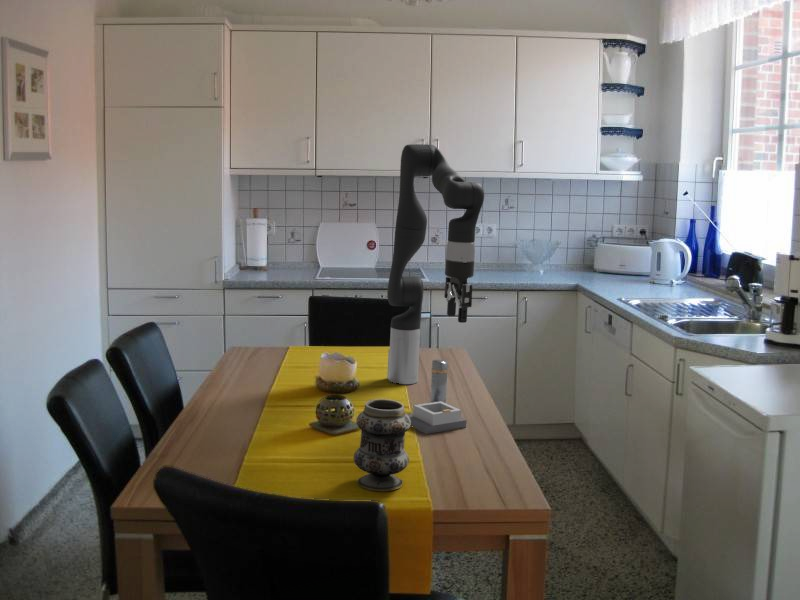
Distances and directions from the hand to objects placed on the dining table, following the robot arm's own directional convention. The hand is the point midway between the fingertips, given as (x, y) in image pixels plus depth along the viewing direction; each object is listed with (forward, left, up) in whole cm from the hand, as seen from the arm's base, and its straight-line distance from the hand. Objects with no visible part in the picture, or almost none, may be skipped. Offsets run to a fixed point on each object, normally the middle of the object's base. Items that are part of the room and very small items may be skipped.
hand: (456, 319), depth 235 cm
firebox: (+1, -6, -28) cm, 29 cm away
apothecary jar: (+30, -41, -29) cm, 58 cm away
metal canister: (-10, +3, -28) cm, 30 cm away
